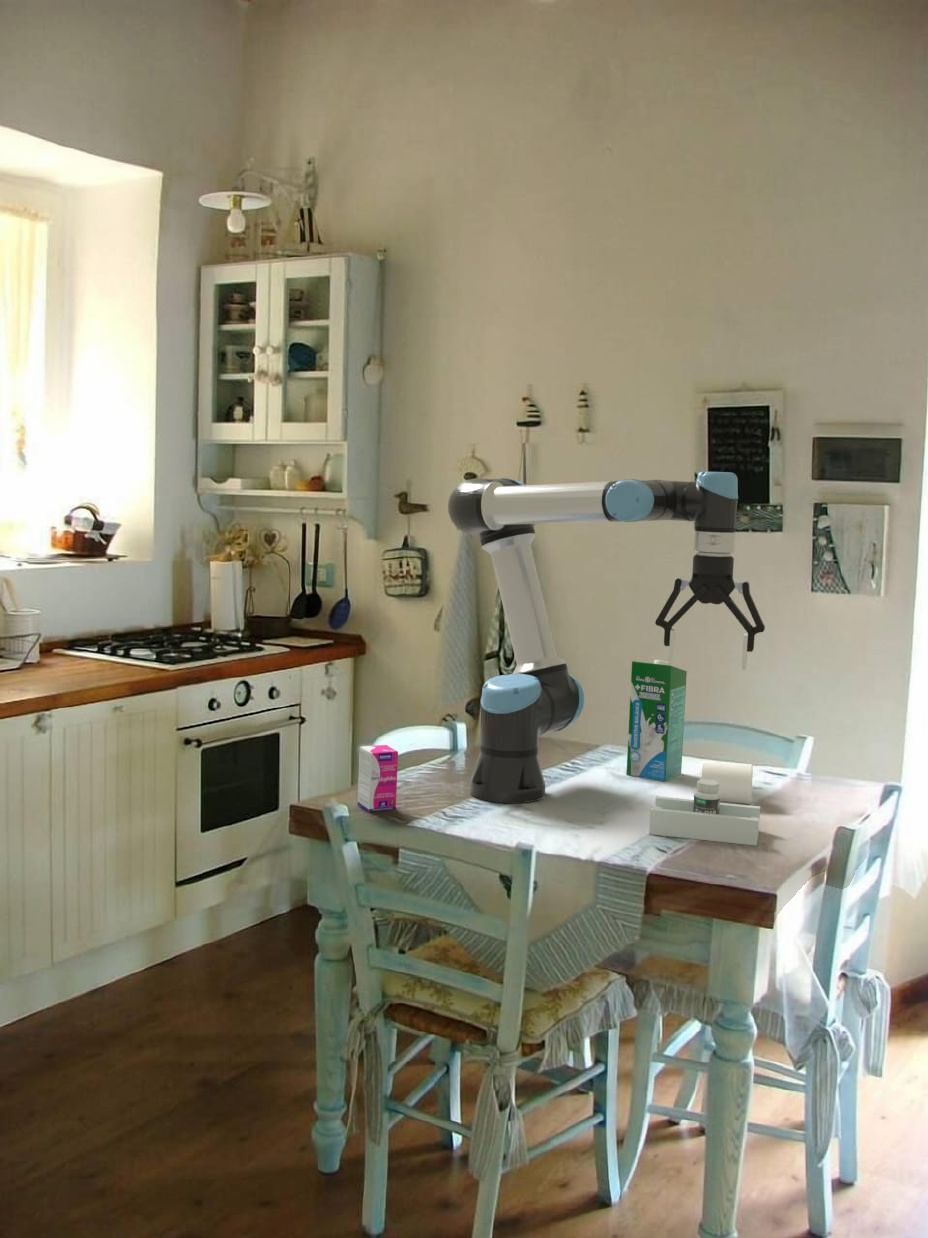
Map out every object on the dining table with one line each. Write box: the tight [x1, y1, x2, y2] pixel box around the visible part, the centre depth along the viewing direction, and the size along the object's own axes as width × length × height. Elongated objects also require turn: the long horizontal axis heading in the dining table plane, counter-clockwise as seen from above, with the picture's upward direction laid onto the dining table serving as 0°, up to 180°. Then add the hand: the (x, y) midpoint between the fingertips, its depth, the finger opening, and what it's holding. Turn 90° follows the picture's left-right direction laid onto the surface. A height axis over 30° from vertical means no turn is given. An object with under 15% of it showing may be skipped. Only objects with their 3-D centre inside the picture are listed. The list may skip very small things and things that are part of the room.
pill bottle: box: [693, 779, 721, 815], centre depth 225 cm, size 5×5×8 cm
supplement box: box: [357, 744, 399, 813], centre depth 235 cm, size 6×6×12 cm
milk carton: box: [626, 659, 688, 782], centre depth 267 cm, size 9×9×25 cm
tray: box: [648, 795, 761, 847], centre depth 225 cm, size 19×10×4 cm, turn 75°
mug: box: [700, 760, 754, 805], centre depth 249 cm, size 12×10×8 cm
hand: (707, 666), depth 235 cm, fingers open, 13 cm apart
